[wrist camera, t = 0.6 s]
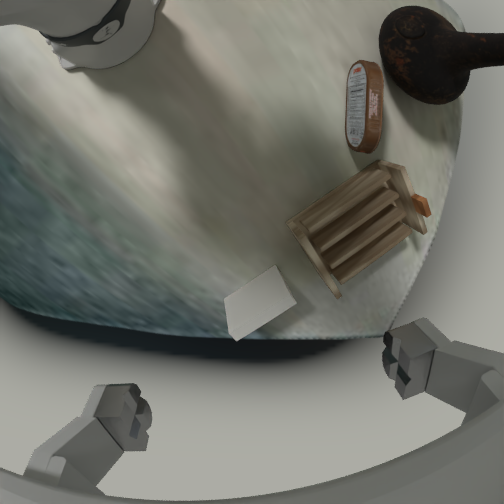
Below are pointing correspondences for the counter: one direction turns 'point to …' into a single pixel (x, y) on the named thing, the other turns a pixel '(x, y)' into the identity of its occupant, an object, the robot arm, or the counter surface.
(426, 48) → the glass bottle
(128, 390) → the robot arm
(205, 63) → the counter surface
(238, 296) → the panel
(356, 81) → the tin
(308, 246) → the rack
